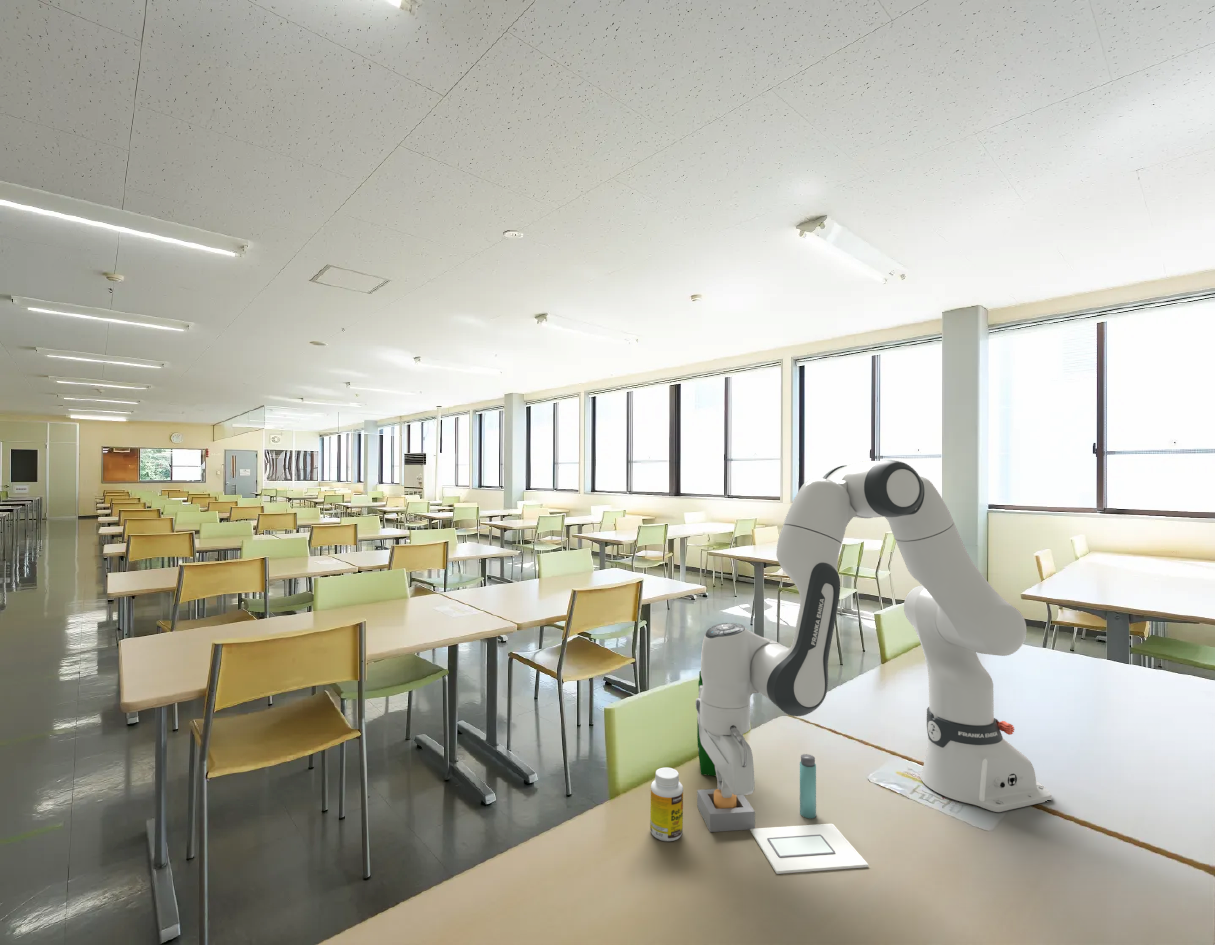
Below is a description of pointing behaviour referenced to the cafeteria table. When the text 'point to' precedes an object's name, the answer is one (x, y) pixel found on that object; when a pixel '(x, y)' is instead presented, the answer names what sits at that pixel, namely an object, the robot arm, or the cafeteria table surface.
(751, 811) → the button housing
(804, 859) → the worksheet
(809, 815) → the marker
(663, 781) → the supplement bottle
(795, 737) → the cafeteria table surface
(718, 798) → the button
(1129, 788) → the cafeteria table surface
